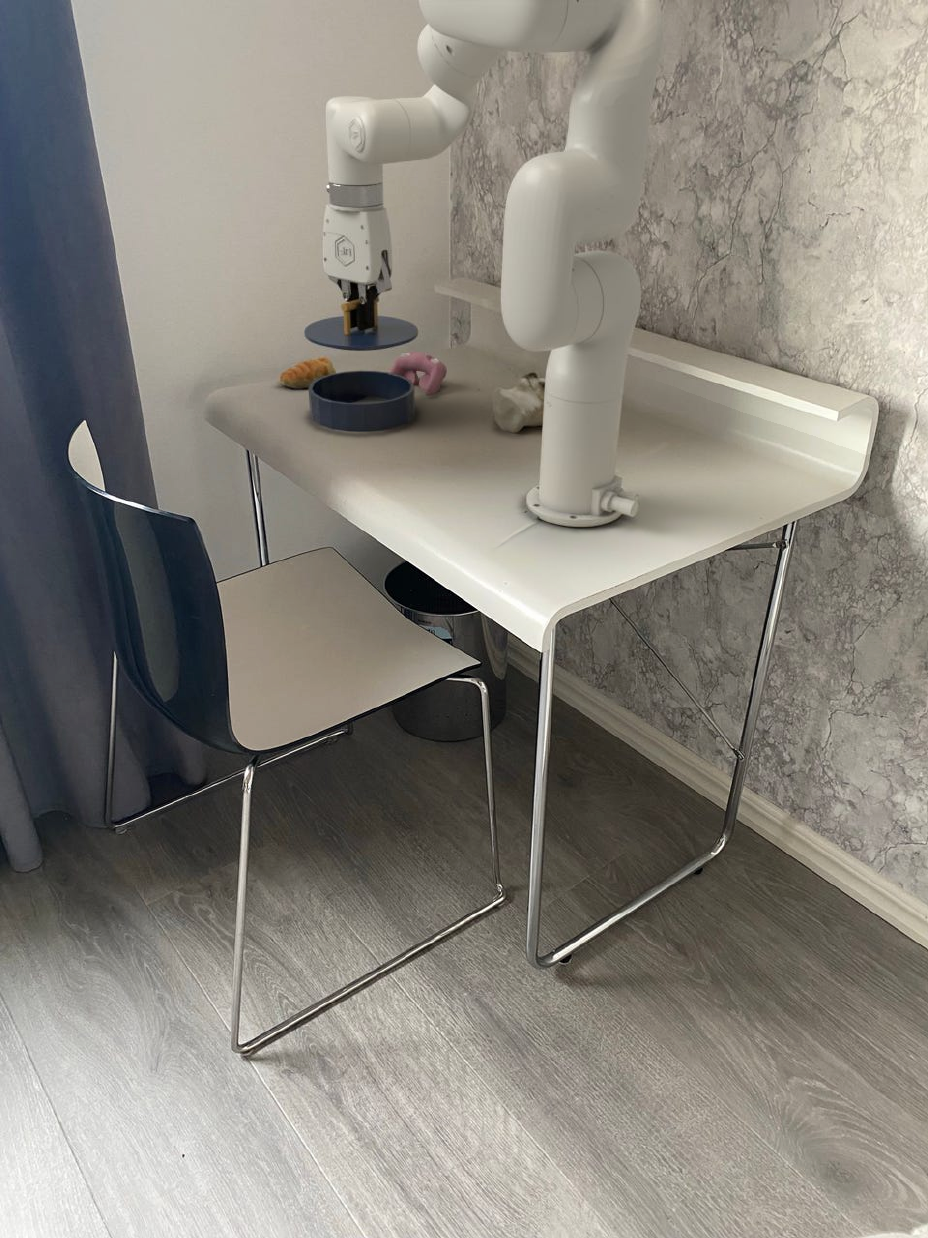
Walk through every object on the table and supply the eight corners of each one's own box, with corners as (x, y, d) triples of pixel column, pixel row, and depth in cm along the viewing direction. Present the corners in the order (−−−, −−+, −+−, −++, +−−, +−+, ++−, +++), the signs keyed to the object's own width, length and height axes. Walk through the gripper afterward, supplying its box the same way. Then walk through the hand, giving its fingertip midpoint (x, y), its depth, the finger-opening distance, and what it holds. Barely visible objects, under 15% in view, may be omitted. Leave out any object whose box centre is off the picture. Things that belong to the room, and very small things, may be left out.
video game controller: (443, 401, 168) (453, 360, 167) (429, 396, 164) (440, 354, 163) (395, 391, 172) (405, 350, 171) (380, 385, 168) (390, 344, 167)
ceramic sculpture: (475, 368, 150) (552, 358, 158) (471, 423, 154) (546, 411, 162) (518, 388, 143) (596, 376, 151) (512, 445, 147) (589, 431, 155)
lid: (440, 335, 152) (441, 297, 149) (365, 361, 140) (363, 320, 137) (358, 315, 161) (357, 279, 158) (280, 338, 149) (277, 299, 146)
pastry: (292, 393, 166) (290, 371, 164) (272, 383, 171) (270, 361, 169) (340, 382, 171) (339, 360, 169) (319, 373, 176) (318, 351, 174)
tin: (435, 413, 159) (435, 384, 156) (366, 443, 148) (365, 411, 145) (360, 392, 167) (358, 364, 164) (289, 418, 156) (287, 388, 153)
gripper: (298, 192, 141) (306, 323, 151) (379, 205, 133) (383, 342, 143) (335, 186, 147) (341, 313, 156) (416, 198, 139) (417, 331, 148)
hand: (361, 326), depth 150 cm, fingers closed on lid, 1 cm apart
